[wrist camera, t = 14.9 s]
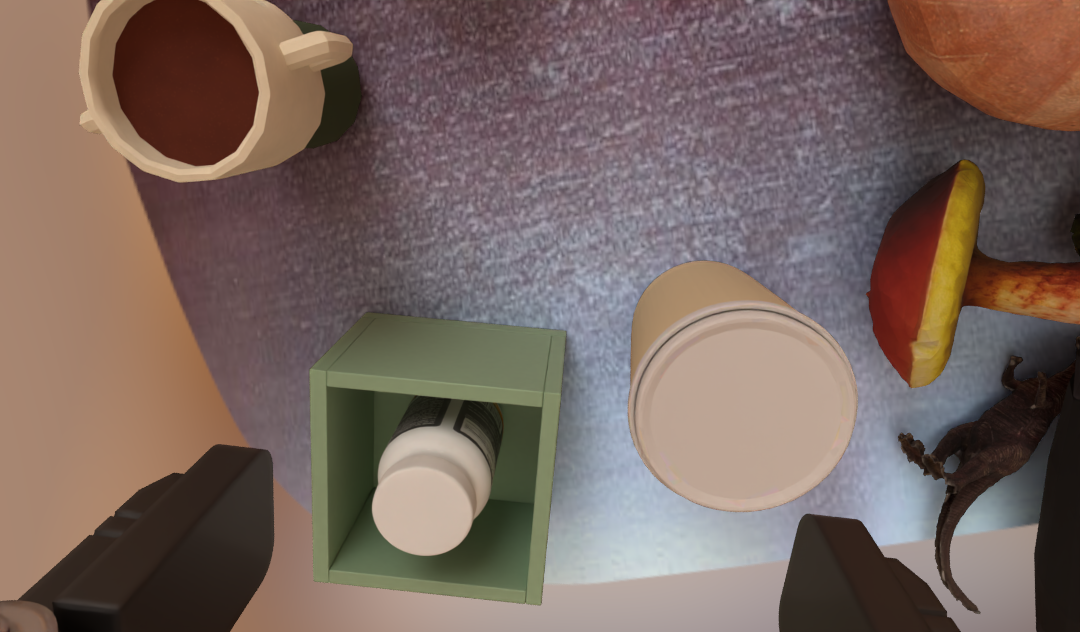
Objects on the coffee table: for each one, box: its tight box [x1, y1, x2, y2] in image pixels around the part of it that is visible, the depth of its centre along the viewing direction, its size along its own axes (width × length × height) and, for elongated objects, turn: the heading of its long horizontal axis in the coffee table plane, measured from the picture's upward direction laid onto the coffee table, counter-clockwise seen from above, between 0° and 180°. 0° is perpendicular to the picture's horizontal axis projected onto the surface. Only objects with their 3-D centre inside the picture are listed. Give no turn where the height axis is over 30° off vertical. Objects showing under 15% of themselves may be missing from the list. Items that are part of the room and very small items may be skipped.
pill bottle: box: [372, 395, 504, 556], centre depth 37 cm, size 6×6×10 cm
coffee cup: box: [628, 261, 858, 512], centre depth 35 cm, size 9×9×12 cm
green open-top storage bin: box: [309, 312, 566, 605], centre depth 39 cm, size 12×12×9 cm
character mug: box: [79, 0, 362, 182], centre depth 32 cm, size 11×7×13 cm, turn 107°
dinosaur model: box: [898, 336, 1080, 614], centre depth 40 cm, size 4×12×15 cm
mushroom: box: [866, 159, 1080, 388], centre depth 33 cm, size 12×12×15 cm
